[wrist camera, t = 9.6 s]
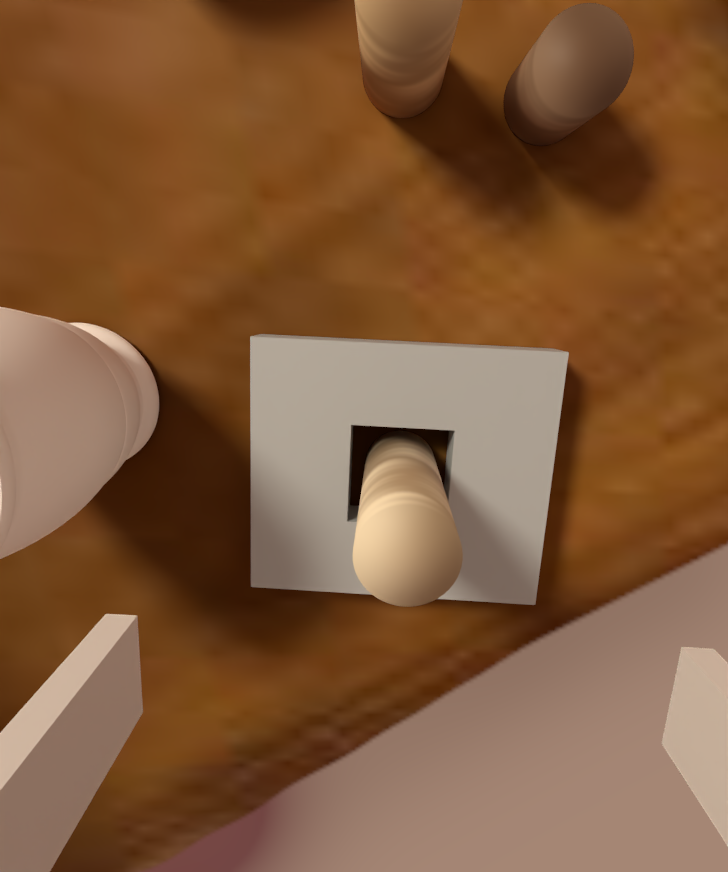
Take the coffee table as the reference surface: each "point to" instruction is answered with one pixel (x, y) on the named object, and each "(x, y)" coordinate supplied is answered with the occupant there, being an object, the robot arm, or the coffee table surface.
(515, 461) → the hole plate
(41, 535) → the jar
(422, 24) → the oak pin
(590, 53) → the walnut pin
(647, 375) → the coffee table surface
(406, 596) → the birch pin
